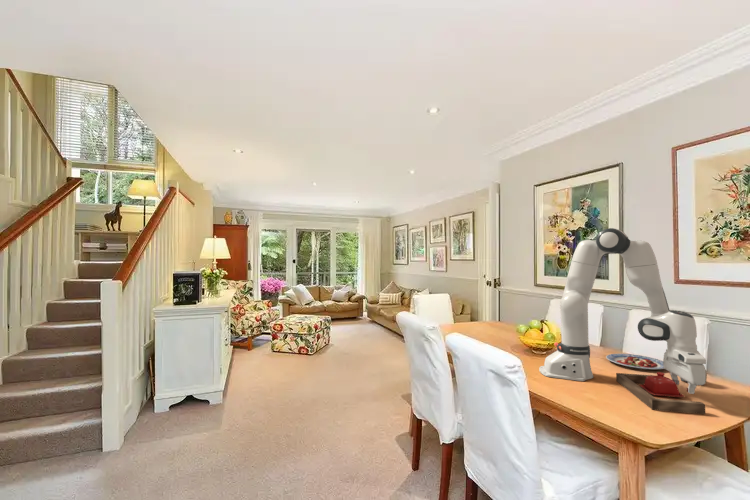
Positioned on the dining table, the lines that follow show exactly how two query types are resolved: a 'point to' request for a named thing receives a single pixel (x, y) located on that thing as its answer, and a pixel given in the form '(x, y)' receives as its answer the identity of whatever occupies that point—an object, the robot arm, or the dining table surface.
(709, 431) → the dining table surface
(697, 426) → the dining table surface
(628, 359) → the ceramic plate
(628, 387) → the dock
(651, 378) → the butter dish
